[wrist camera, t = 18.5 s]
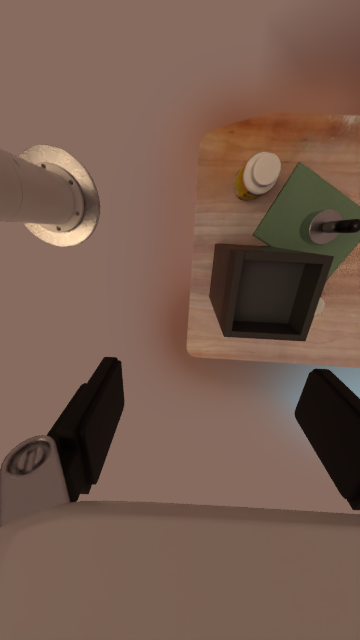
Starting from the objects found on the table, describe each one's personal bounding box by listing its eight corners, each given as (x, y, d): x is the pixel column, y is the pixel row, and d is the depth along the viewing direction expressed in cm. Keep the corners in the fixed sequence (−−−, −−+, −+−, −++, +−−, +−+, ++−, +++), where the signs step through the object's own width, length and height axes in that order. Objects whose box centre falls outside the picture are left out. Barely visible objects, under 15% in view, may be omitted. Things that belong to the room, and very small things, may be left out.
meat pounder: (293, 234, 41) (330, 234, 31) (314, 204, 39) (361, 194, 29) (315, 248, 42) (358, 254, 32) (336, 221, 40) (390, 216, 30)
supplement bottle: (233, 203, 40) (248, 194, 31) (231, 170, 38) (247, 149, 28) (262, 198, 40) (286, 187, 30) (262, 164, 37) (287, 141, 28)
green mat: (252, 234, 42) (253, 234, 42) (298, 162, 37) (300, 161, 37) (324, 280, 46) (326, 281, 45) (375, 220, 40) (378, 219, 40)
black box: (209, 297, 48) (223, 336, 29) (215, 243, 43) (237, 251, 25) (259, 299, 48) (305, 341, 29) (270, 246, 43) (334, 256, 25)
